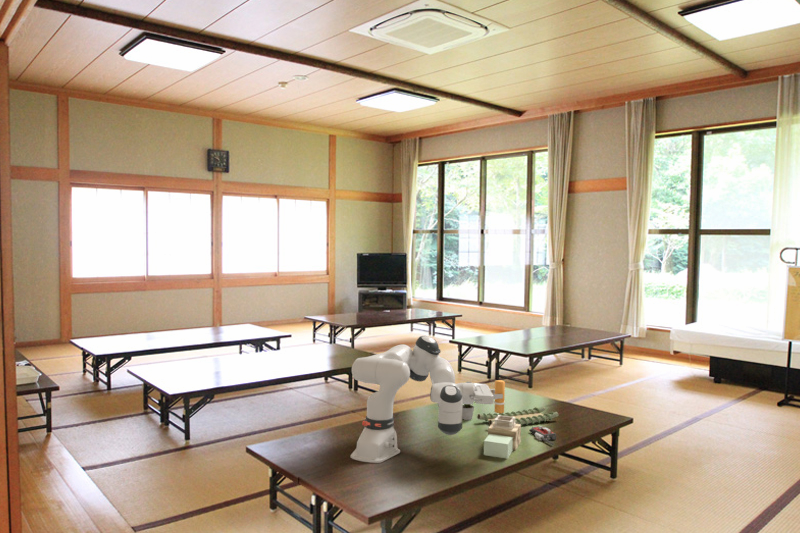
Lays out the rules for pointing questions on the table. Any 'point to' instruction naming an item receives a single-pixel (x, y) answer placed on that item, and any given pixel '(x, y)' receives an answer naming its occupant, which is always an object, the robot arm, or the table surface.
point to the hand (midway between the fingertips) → (501, 394)
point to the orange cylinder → (499, 402)
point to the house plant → (467, 411)
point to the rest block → (498, 446)
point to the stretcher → (522, 416)
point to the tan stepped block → (506, 429)
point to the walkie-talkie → (543, 434)
